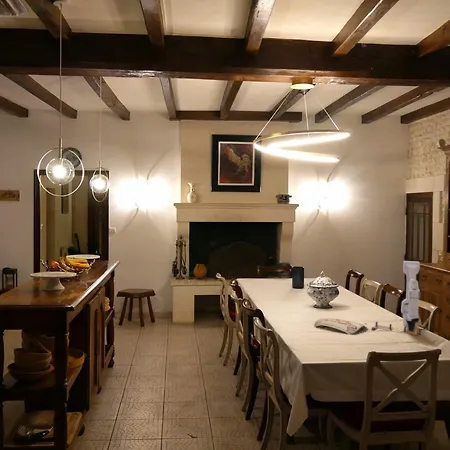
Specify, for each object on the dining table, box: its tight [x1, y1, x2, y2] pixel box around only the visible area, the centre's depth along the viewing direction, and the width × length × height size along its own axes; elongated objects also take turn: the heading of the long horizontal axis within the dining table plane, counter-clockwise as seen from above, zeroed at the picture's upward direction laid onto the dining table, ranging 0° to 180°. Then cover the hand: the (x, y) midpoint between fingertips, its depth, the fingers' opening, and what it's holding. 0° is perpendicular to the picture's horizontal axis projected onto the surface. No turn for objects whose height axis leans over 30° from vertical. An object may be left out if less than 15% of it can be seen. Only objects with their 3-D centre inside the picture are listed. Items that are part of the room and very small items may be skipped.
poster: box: [313, 317, 368, 336], centre depth 334 cm, size 28×6×30 cm
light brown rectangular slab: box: [406, 321, 420, 334], centre depth 317 cm, size 4×6×7 cm
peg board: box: [371, 321, 425, 337], centre depth 323 cm, size 10×30×4 cm, turn 52°
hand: (412, 330), depth 317 cm, fingers closed on light brown rectangular slab, 4 cm apart
